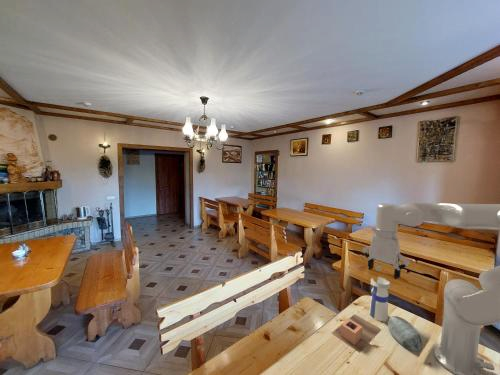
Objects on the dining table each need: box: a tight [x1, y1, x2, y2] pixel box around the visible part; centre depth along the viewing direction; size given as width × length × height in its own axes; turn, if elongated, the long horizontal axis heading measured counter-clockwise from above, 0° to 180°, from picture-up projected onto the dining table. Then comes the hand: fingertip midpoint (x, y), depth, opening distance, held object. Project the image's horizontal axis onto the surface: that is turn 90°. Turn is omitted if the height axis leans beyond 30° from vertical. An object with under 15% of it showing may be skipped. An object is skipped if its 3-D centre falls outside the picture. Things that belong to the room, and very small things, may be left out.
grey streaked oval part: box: [387, 315, 423, 352], centre depth 88 cm, size 14×10×10 cm
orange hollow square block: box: [340, 317, 362, 345], centre depth 88 cm, size 6×6×5 cm
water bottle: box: [368, 265, 392, 322], centre depth 101 cm, size 8×9×25 cm
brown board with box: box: [331, 314, 382, 354], centre depth 91 cm, size 20×12×8 cm, turn 127°
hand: (383, 273), depth 88 cm, fingers open, 9 cm apart
